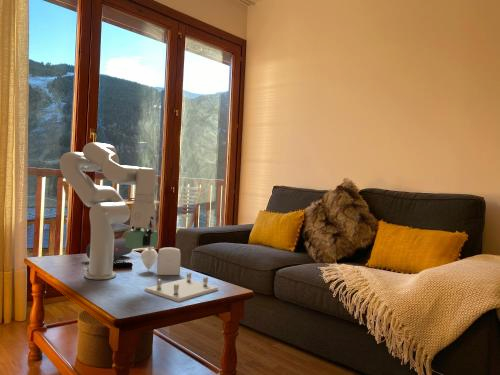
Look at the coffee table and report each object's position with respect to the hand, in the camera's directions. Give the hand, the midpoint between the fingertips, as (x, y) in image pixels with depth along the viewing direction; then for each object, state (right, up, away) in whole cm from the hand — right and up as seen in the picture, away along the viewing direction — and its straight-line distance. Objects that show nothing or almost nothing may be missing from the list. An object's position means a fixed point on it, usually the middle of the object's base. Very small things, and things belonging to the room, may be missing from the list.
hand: (141, 243), depth 159 cm
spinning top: (-4, -17, +26) cm, 31 cm away
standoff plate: (+16, -18, -1) cm, 25 cm away
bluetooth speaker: (-29, -14, +46) cm, 56 cm away
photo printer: (+6, -17, +22) cm, 29 cm away
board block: (0, -1, 0) cm, 1 cm away
